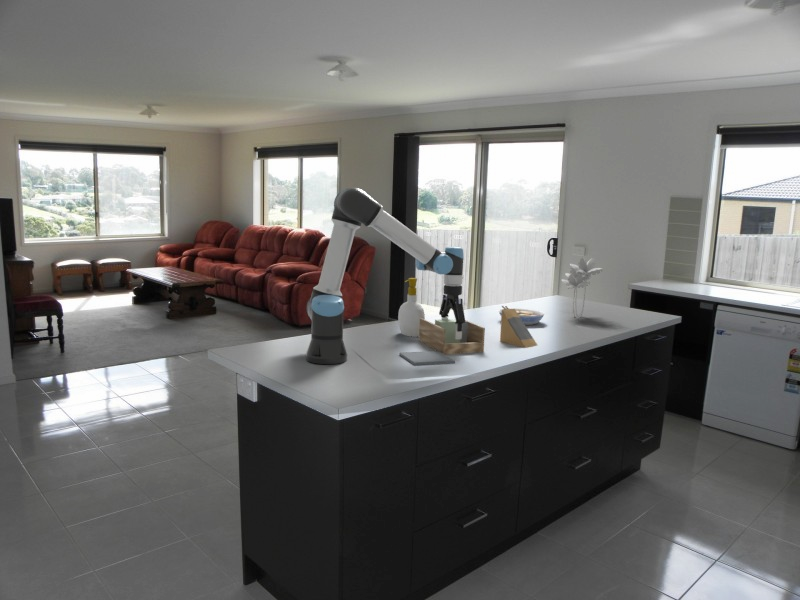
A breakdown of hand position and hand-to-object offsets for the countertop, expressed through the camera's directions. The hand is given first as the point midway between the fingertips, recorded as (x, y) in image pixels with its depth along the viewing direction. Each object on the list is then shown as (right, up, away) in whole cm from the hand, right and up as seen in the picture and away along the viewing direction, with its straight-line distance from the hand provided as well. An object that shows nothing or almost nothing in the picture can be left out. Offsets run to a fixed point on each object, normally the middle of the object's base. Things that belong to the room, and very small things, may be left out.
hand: (451, 335), depth 247 cm
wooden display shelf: (0, -4, +1) cm, 5 cm away
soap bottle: (-17, -2, +19) cm, 25 cm away
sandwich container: (+30, -5, +8) cm, 31 cm away
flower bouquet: (+73, +3, +72) cm, 103 cm away
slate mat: (-11, -7, -22) cm, 26 cm away
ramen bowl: (+40, +1, +54) cm, 67 cm away
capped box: (0, -5, +1) cm, 5 cm away
